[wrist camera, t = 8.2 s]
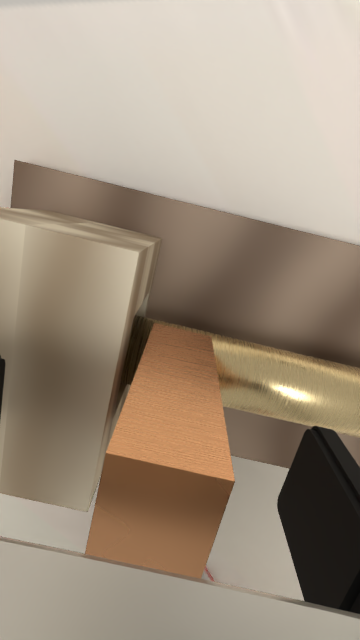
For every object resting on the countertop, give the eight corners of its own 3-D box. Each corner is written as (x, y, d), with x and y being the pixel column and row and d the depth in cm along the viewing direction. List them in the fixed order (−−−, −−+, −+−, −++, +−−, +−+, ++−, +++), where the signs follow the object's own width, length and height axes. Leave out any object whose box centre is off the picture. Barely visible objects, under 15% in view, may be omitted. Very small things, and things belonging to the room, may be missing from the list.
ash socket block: (162, 238, 18) (139, 252, 10) (126, 402, 20) (87, 511, 13) (49, 210, 17) (-63, 203, 10) (29, 380, 20) (-70, 477, 13)
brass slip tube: (506, 387, 17) (1008, 653, 7) (469, 451, 18) (848, 766, 8) (85, 286, 17) (-106, 405, 6) (74, 359, 18) (-104, 568, 7)
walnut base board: (678, 326, 19) (716, 334, 18) (547, 512, 23) (570, 531, 22) (28, 164, 18) (14, 159, 17) (6, 390, 22) (-7, 401, 21)
